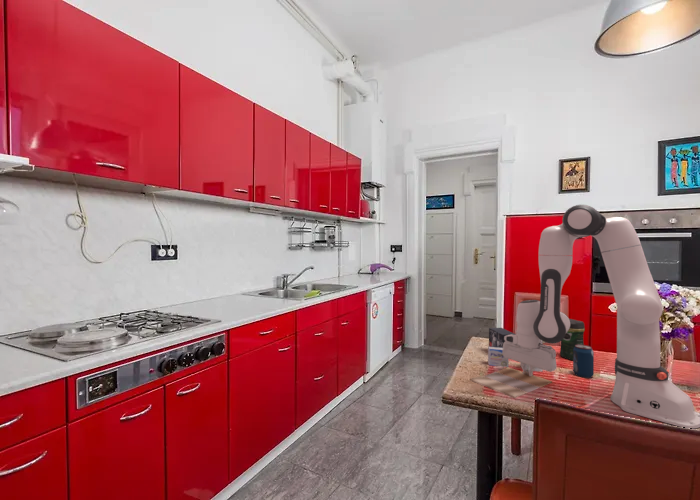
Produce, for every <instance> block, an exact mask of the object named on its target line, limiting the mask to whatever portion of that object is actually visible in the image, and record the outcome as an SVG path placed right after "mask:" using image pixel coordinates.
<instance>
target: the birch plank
mask: <svg viewBox="0 0 700 500" xmlns="http://www.w3.org/2000/svg"><path fill="white" fill-rule="evenodd" d="M469 381H471V382H473V383H475V384H478V385H480V386H484V387H485V388H488V389H491V390H494V391H496V392H497V393H501V394H503V395H505V396H508V397H511V398H513V399H516V398H518V397H521V396H524V395H526V394H528V393H529V392H525V391H523V390H520V389H517V388H515V387H512V386H509V385H507V384H504V383H501V382H498V381H496V380H493V379H490V378H488V377H485V375H483V376H482V375H481V376H477V377H471V378H470V379H469Z"/></svg>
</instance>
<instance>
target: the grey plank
mask: <svg viewBox="0 0 700 500" xmlns="http://www.w3.org/2000/svg"><path fill="white" fill-rule="evenodd" d="M484 377H487V378H490V379H492V380H495V381H498V382H501V383H503V384H506V385H509V386H511V387H514V388H517V389H519V390H522V391H525V392H528V393H531V392H533V391H535V390H537V389H541V387H538V386H535V385H533V384H530V383H527V382H524V381H521V380H518V379H515V378H512V377H509V376H507V375H504V374H501V373H498V372H497V371H494V372H492V373H489V374H485V375H484Z"/></svg>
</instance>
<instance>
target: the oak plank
mask: <svg viewBox="0 0 700 500" xmlns="http://www.w3.org/2000/svg"><path fill="white" fill-rule="evenodd" d="M496 372H497V373H500V374H503V375H506V376H509V377H512V378H515V379H518V380H520V381H523V382H526V383H529V384H532V385H535V386H538V387H540V388H543V387H545V386H548V385H550V384H553V381H552V380H550V379H546V378H543V377H541V376H536V375H534V374H533V376H531V377H530V376H527V375H524V374H523V370H522V371H521V370H519V369H515V368H512V367H510V366H508V367H503V368H502V369H499V370H498V371H496Z"/></svg>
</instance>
